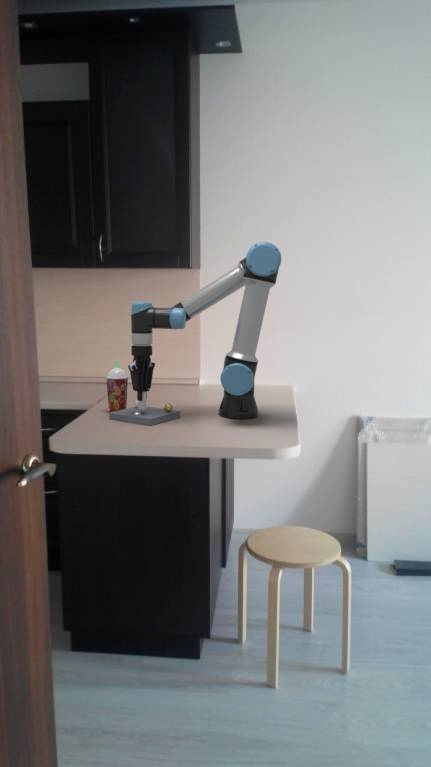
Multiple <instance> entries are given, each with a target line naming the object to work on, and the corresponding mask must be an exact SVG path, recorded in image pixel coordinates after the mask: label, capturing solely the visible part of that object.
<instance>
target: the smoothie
mask: <svg viewBox="0 0 431 767" xmlns="http://www.w3.org/2000/svg"><path fill="white" fill-rule="evenodd" d="M105 378H106V391H107V404H108V409H109V413H110V412H114V411H119V410H123V409H127V403H128V402H127V401H128V383H129V376H128V374H127V373H126V371H125V370H124V369H123V368H121V367H119V360H115V367H113V368H112V369H111V370H109V372H108V373H107V376H105Z"/></svg>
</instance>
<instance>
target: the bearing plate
mask: <svg viewBox="0 0 431 767" xmlns="http://www.w3.org/2000/svg"><path fill="white" fill-rule="evenodd" d="M135 412H140V413H141V415H134V413H135ZM108 414H109V415H108V416H109V417H108V418H109V420H110V421H116V420H117V421H118V422H122V421H123V422H125V423H128V422H129V424H130V423H131V424H135V425H143V426H148V427H153V426H155V425H159V424H162V423H166V422H170V421H173V420H176V419H181V410H176V409H172V411H171V412H166V411H165V409H164V408H161V407H155V406H154V407H153V406H148V405H146V409H145V410H142V409H138V408H137V407H136V406H133V407H127V408H126V409H123V410H119V411H114V412H110V411H109V413H108ZM117 421H116V422H117Z"/></svg>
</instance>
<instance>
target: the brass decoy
mask: <svg viewBox="0 0 431 767" xmlns="http://www.w3.org/2000/svg"><path fill="white" fill-rule="evenodd" d="M173 407H174V406H173V405H172V404H171V403H165V405H164V407H163V409H165V411H166V412H171V411H172V410H174V408H173Z"/></svg>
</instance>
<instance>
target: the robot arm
mask: <svg viewBox="0 0 431 767" xmlns="http://www.w3.org/2000/svg"><path fill="white" fill-rule="evenodd" d="M281 263H282V254H281V251H280V249H279V248H278V247H277V246H276V245H275V244H273V243H272V242H269V241H257V242H256V243H254V244H253V245H252V246H250V248H249V249H248V251H247V253H246V255H245V257H244V258H243V259H241V260H240V261H238V264H237V266H235V267H233V268H232V269H231V270H229V271H227V272H226V273H224V274H223V275H221V276H219V277H217V278H216V279H215V280H213V281H212V282H210V283H208V284H207V285H205V286H204V287H201V288H200V289H199V290H197V291H195V292H194V293H192V294H191V295H189V296H187V297H185V299H183V300H180V302H178V303H176V304H174V305H173V306H172V307H154V306H153V303H152V302H151V301H133V302H132V303H131V309H130V310H131V312H130V313H131V314H130V319H131V320H130V322H131V323H130V326H131V327H130V328H131V332H130V333H131V346H130V347H131V350H130V351H131V353H130V355H131V356H133V360H132V363H131V364H129V365H128V366H127V367H128V370H129V373H130V379H131V385H132V386H131V387H132V390H133V391H134V392H136V393H137V394H136V396H137V399H136V400H138V409H142V410H145V409H146V406H147V398H148V396H147V395H148V393H147V392H150V389H151V388H152V381H153V375H154V369H155V366H156V363H155V362H152V361H151V360H152V359H151V357H152V355H153V329H158V330H159V329H160V330H161V329H162V330H163V329H164V330H182V329H183V330H184V329H185V327H186V324H187V322H188V321H190V320H191V319H193V318H195V317H196V316H198V315H199V314H201V313H203V312H204V311H206V310H208V309H210V308H211V307H213V306H214V305H216V304H217V303H220V301H222V300H224V299H225V298H227V297H229V296H231V295H232V294H234V293H235V292H236V291H238V290H240V289H241V288H243V287H244V291H243V295H242V301H241V305H240V310H239V314H238V319H237V324H236V328H235V332H234V337H233V343H232V346H231V347H232V348H231V350H230V351H229V352H226V355H225V357H224V361H223V368H222V372H221V373H220V376H219V377H220V384H221V386H222V388H223V397H222V399H221V403H220V406H219V408H218V416H220V417H222V418H226V419H237V420H238V419H240V420H243V419H244V420H245V419H253V418H257V417H259V409H258V405H257V401H256V397H255V378H256V373H257V368H258V364H259V359H258V358H257V356H256V352H257V349H258V344H259V339H260V334H261V332H262V326H263V321H264V318H265V312H266V308H267V303H268V298H269V295H270V290H271V289H272V288H273V287H274V286H276V283H277V279H278V274H279V270H280V266H281Z"/></svg>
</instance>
